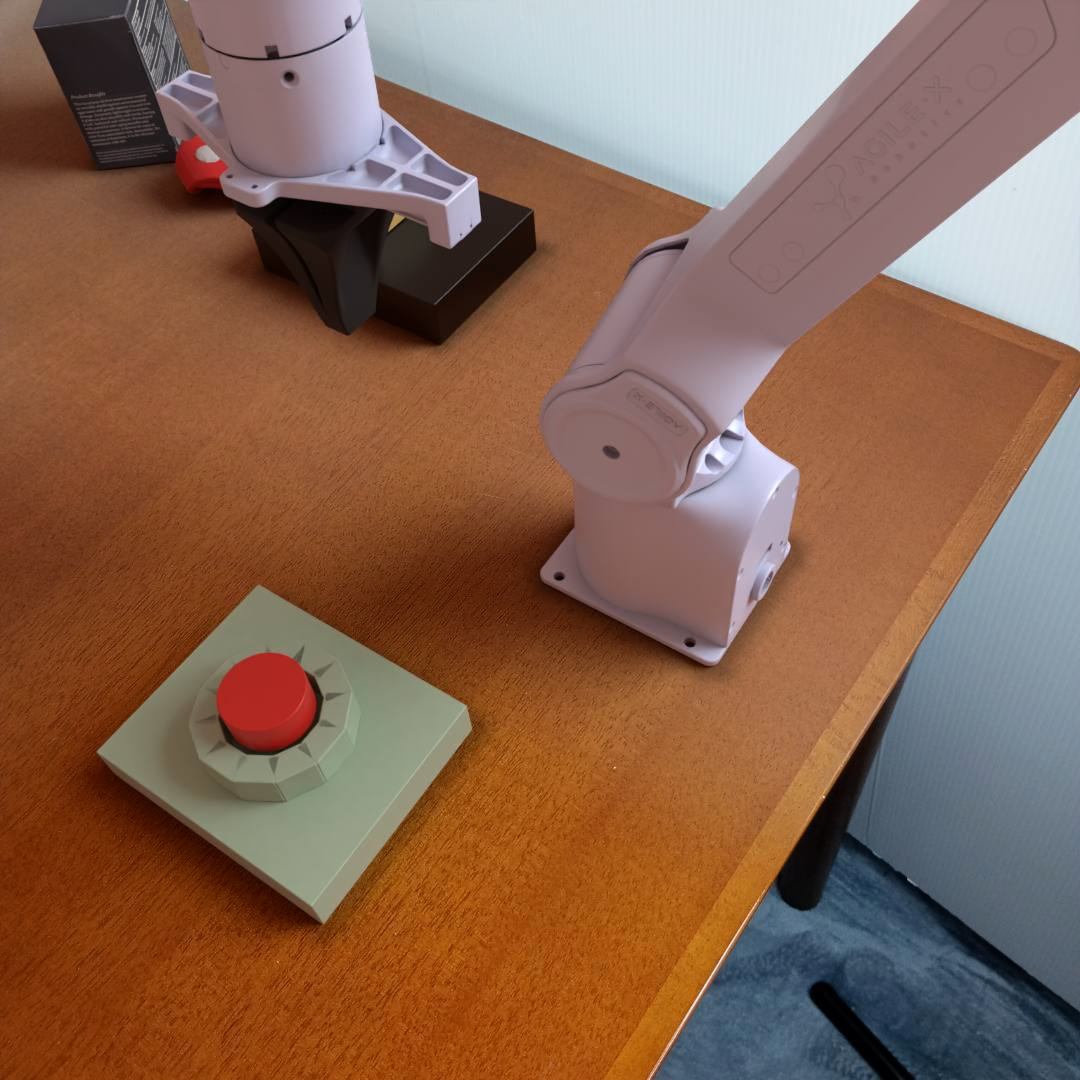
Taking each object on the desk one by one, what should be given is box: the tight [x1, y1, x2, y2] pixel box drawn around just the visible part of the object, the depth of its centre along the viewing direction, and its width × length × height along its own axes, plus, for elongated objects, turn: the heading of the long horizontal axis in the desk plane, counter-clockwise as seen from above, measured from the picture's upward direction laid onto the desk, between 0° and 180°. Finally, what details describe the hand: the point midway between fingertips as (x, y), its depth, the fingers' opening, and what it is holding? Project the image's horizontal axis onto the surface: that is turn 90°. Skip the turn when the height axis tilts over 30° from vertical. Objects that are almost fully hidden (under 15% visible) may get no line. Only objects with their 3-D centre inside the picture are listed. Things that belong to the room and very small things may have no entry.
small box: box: [32, 0, 192, 171], centre depth 74 cm, size 11×6×10 cm, turn 6°
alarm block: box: [96, 584, 473, 925], centre depth 45 cm, size 12×10×4 cm
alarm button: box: [216, 652, 316, 751], centre depth 43 cm, size 4×4×2 cm
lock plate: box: [251, 189, 538, 345], centre depth 65 cm, size 14×10×3 cm
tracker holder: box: [174, 135, 229, 195], centre depth 73 cm, size 12×4×10 cm
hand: (350, 318), depth 48 cm, fingers closed
